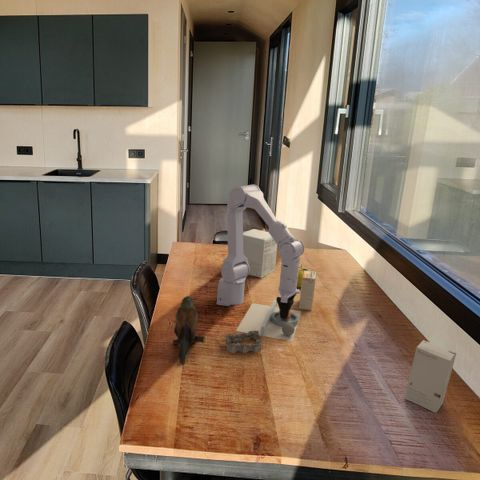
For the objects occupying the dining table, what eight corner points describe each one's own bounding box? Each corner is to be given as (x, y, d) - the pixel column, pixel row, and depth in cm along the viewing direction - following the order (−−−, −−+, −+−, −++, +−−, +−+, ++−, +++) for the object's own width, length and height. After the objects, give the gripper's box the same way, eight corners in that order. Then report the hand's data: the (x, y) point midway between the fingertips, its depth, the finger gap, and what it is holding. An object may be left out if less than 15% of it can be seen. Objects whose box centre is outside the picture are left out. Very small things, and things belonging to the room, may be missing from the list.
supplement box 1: (275, 270, 196) (279, 233, 192) (261, 278, 186) (264, 239, 181) (251, 264, 203) (253, 228, 198) (235, 271, 192) (238, 233, 188)
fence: (260, 335, 134) (261, 326, 133) (273, 306, 156) (274, 299, 155) (263, 336, 134) (264, 327, 133) (276, 307, 155) (277, 299, 155)
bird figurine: (202, 365, 116) (207, 292, 122) (166, 364, 116) (172, 290, 121) (205, 365, 129) (209, 298, 134) (172, 363, 129) (177, 297, 134)
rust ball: (277, 320, 143) (278, 309, 142) (279, 315, 147) (280, 305, 146) (289, 322, 142) (290, 311, 141) (291, 317, 146) (292, 307, 145)
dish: (268, 324, 142) (269, 320, 141) (273, 313, 150) (274, 309, 150) (296, 329, 140) (296, 324, 139) (299, 317, 148) (299, 313, 148)
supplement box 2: (311, 313, 155) (315, 278, 151) (298, 311, 156) (302, 277, 152) (312, 304, 163) (316, 271, 159) (300, 302, 164) (303, 269, 160)
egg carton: (258, 342, 133) (260, 330, 132) (262, 354, 126) (263, 342, 124) (224, 341, 132) (225, 329, 131) (225, 354, 124) (226, 341, 123)
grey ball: (280, 336, 134) (281, 325, 133) (282, 331, 138) (283, 319, 137) (293, 339, 133) (294, 327, 132) (294, 333, 137) (296, 321, 136)
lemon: (289, 288, 177) (291, 265, 174) (293, 283, 182) (295, 261, 179) (305, 291, 175) (307, 268, 172) (308, 286, 180) (311, 264, 177)
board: (235, 333, 136) (235, 330, 136) (252, 305, 158) (252, 303, 157) (292, 344, 132) (292, 341, 132) (301, 313, 154) (301, 311, 153)
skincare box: (403, 399, 109) (413, 346, 105) (411, 389, 113) (421, 338, 109) (438, 414, 104) (450, 360, 100) (445, 403, 108) (457, 350, 104)
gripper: (298, 285, 133) (294, 325, 137) (303, 271, 147) (299, 307, 150) (276, 282, 135) (272, 321, 138) (283, 268, 148) (279, 304, 152)
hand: (285, 314), depth 144 cm, fingers open, 6 cm apart
